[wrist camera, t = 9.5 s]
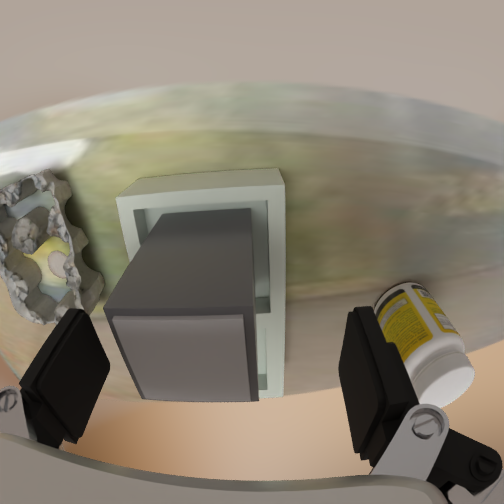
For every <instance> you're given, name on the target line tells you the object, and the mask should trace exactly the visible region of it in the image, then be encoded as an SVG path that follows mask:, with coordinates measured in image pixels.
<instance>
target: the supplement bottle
mask: <svg viewBox="0 0 504 504" xmlns="http://www.w3.org/2000/svg"><path fill="white" fill-rule="evenodd" d="M374 313H375V315H376V318H377V320H378V322H379V325H380V327H381V330H382V332H383V334H384V337H385V339H386V342H394V343H395V344H396V346H397V348H398V351H399V353H400V355H401V358H402V360H403V363H404V365H405V367H406V370H407V372H408V375H409V377H410V380H411V382H412V385H413V388H414V390H415V393H416V395H417V398H418V401H419V403H420V404H431V405H435V406H437V407H439V408H442V407H444V406H446V405H448V404H450V403H451V402H453V401H454V400H456V399H457V398H458V397H460V396H461V395H462V394H463V393H464V392H465V391H466V390H467V388H469V386H470V385H471V383H472V381H473V379H474V376H475V371H474V368H473V366H472V365H471V363H470V361H469V359H468V357H467V356H466V355H465V354H464V351H465V347H464V342H463V340H462V338H461V336H460V335H459V334H458V332H457V331H456V329H455V328H454V327H453V325H452V324H451V322H450V321H449V320H448V318H447V317H446V315H445V314H444V313H443V311H442V310H441V309H440V307H439V306H438V305H437V303H436V302H435V301H434V299H433V298H432V297H431V295H430V294H429V293H428V291H427V290H426V289H425V288H424V287H423V286H421V285H420V284H417V283H404V284H400V285H398V286H396V287H394V288H392V289H390V290H389V291H387V292H386V293H385V294H384V295H383V296H382V297H381V298H380V300H379V301H378V303H377V305H376V307H375V310H374Z"/></svg>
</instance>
